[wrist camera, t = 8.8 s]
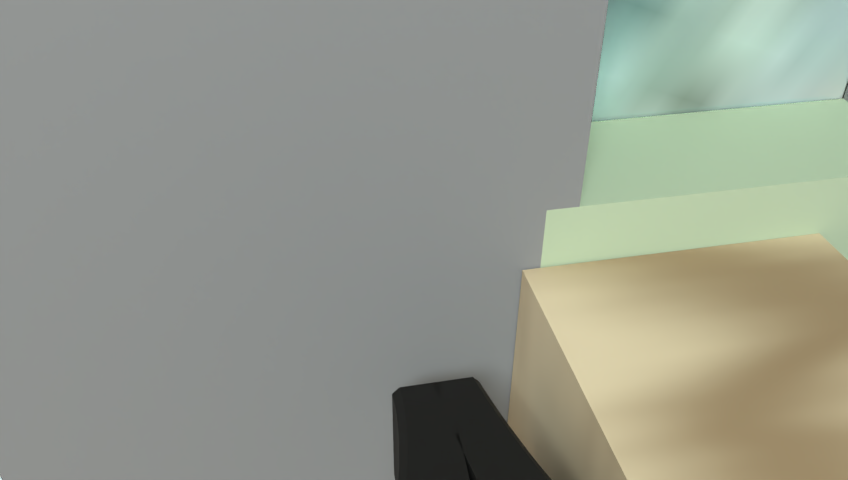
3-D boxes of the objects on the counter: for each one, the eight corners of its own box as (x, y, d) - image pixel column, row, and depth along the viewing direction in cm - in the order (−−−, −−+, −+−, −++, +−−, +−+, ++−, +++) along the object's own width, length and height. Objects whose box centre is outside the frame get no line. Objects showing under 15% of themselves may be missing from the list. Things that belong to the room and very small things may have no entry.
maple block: (819, 233, 13) (1048, 450, 9) (745, 440, 16) (898, 666, 12) (522, 269, 12) (649, 524, 8) (501, 481, 15) (589, 737, 11)
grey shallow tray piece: (1072, -389, 11) (1501, -417, 7) (723, 542, 23) (815, 705, 19) (-271, -414, 8) (-669, -477, 4) (144, 652, 20) (126, 863, 17)
